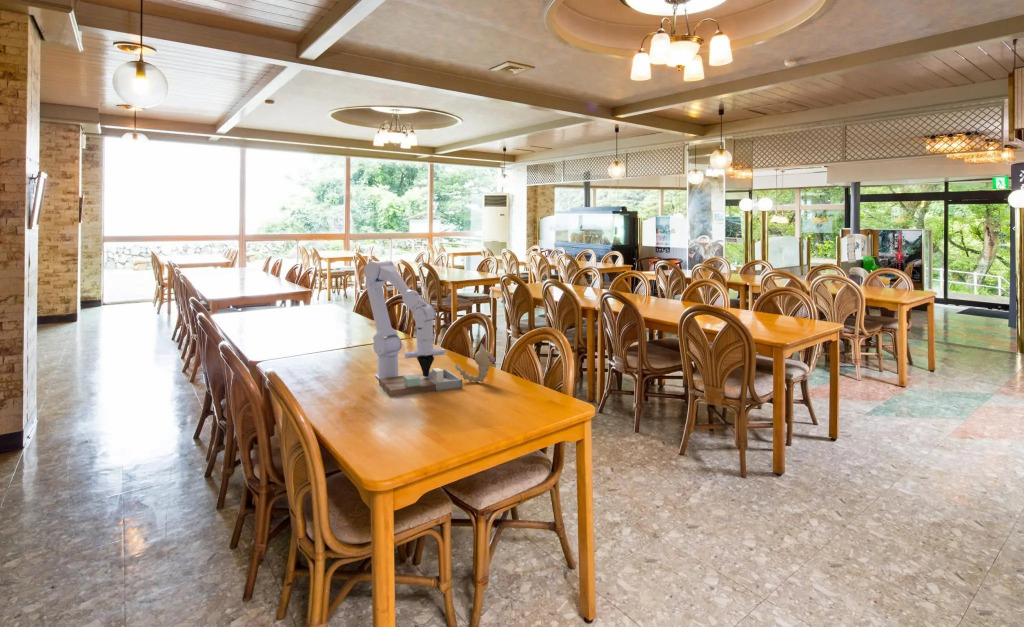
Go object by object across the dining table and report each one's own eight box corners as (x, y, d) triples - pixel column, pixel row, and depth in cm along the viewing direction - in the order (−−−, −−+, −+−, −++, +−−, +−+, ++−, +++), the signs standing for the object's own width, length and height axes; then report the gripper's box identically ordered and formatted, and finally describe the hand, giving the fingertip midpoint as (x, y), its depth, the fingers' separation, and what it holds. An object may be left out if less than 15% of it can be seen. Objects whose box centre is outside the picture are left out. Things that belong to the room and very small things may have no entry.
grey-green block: (404, 383, 203) (404, 376, 203) (416, 382, 205) (416, 375, 205) (407, 386, 199) (407, 379, 199) (420, 385, 201) (420, 378, 201)
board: (379, 384, 211) (378, 378, 211) (421, 379, 218) (421, 373, 218) (390, 396, 196) (390, 390, 196) (436, 391, 203) (436, 384, 202)
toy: (492, 385, 210) (492, 344, 208) (453, 383, 213) (452, 343, 211) (496, 381, 216) (496, 341, 214) (458, 379, 219) (457, 339, 217)
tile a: (432, 368, 215) (438, 367, 216) (432, 380, 215) (439, 379, 216) (436, 371, 211) (443, 370, 212) (436, 383, 211) (443, 382, 212)
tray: (423, 379, 218) (422, 371, 218) (446, 376, 222) (446, 369, 222) (437, 391, 203) (437, 382, 202) (462, 388, 207) (462, 379, 206)
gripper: (408, 342, 203) (409, 380, 205) (447, 339, 209) (448, 376, 211) (402, 339, 209) (403, 376, 211) (441, 336, 215) (442, 372, 217)
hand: (425, 376), depth 211 cm, fingers closed
